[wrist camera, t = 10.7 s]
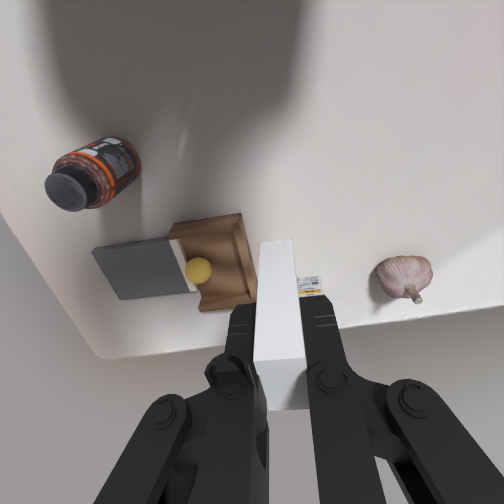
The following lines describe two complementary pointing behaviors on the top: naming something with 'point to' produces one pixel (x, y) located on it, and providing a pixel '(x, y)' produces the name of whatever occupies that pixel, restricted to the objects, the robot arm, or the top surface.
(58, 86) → the top surface
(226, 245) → the tray
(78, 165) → the supplement bottle
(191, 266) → the ball
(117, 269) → the grey flat slab
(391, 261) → the garlic bulb
